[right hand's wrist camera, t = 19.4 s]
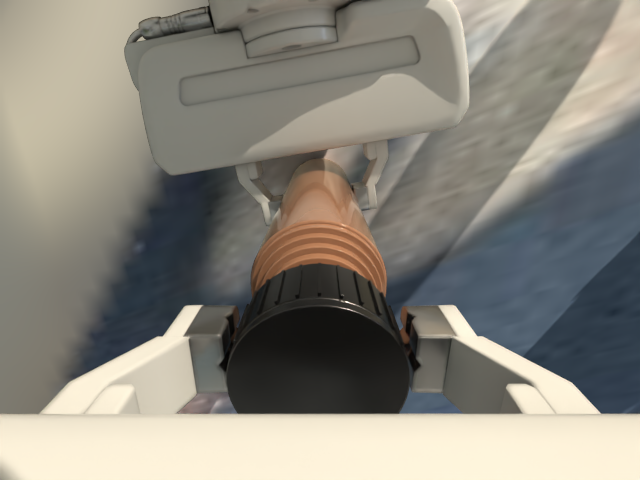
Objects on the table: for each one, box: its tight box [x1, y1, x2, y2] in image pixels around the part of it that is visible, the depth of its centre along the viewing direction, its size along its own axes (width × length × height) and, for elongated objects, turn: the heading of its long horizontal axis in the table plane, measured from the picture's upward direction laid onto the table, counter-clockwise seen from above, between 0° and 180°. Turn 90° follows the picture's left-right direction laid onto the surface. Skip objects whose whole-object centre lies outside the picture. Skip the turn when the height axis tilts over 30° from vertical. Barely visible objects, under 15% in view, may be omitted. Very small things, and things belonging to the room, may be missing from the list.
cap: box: [226, 263, 410, 414], centre depth 9 cm, size 4×4×2 cm
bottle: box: [251, 158, 387, 298], centre depth 19 cm, size 5×5×22 cm
